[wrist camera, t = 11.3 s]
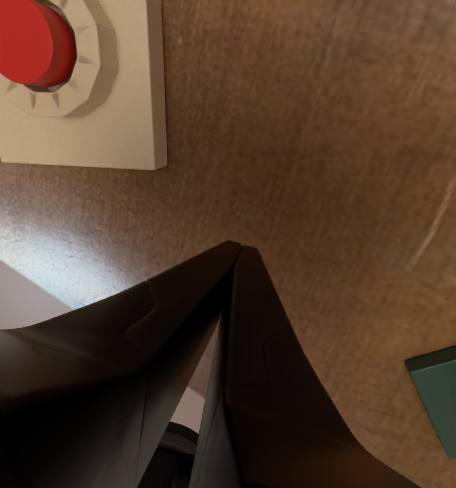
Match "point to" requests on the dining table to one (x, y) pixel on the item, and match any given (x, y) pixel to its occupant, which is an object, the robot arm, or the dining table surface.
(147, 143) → the button box
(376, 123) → the dining table surface
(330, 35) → the dining table surface
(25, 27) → the button
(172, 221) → the dining table surface
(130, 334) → the robot arm
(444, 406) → the bracket
